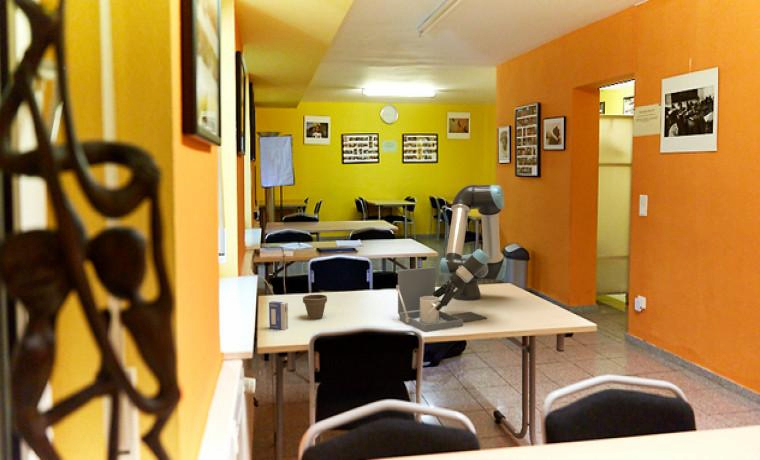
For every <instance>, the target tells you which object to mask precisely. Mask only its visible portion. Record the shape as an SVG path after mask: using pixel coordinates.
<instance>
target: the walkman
mask: <svg viewBox="0 0 760 460" xmlns="http://www.w3.org/2000/svg"><path fill="white" fill-rule="evenodd" d="M288 305H289V304H288V302H286V301H285V302H284V301H275V300H273V301H270V302H268V312H269V313H268V314H269V315H268V317H269V318H268V319H269V329H271V330H283V331H286V330H288V329H289V309H288V308H289V307H288Z"/></svg>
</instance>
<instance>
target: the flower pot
mask: <svg viewBox="0 0 760 460" xmlns="http://www.w3.org/2000/svg"><path fill="white" fill-rule="evenodd" d="M302 303H303V304H304V306H305V311H306V313H307V317H308V319H310V320H319V319H322V318H323V316H324V312H325V309H326V307H325V306H326V303H328V295H326V294H325V295H324V294H308V295H304V296H302Z"/></svg>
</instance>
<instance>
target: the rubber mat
mask: <svg viewBox="0 0 760 460" xmlns="http://www.w3.org/2000/svg"><path fill="white" fill-rule="evenodd" d="M450 315H452V316H455V317H458V318H460V319H463V324H464V323H469V322H470V321H471V322H475V321H476V320H477V321H481V320H483V319H484V320H488V317H487V316H483V315H481V314H478V313H475V312H472V311H466V312H460V313H452V314H450ZM484 320H483V321H484Z"/></svg>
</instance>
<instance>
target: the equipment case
mask: <svg viewBox="0 0 760 460" xmlns="http://www.w3.org/2000/svg"><path fill="white" fill-rule="evenodd" d="M395 288H396V289H395V290H396V291H397V314H398V316H399V317H398V318H399V319H398V320H399V321H401V322H403V323H405V324H407V325H409V326H411V327H414V328H416V329H418V330H420V331H422V332H423V333H424V332H425V333H427V332H434V331H435V332H436V331H440V330H446V329H447V330H448V329H454V328H459V327H464V323H463V319H460V318H458V317H455V316H452V315H451V314H449V313H447V312H445V311H442V310H439V319H442V320H445V321H442V322H437V323H433V324H424V323H422V322H421V321H420V320H417V319H420V298H421V297H424V296H433V292H435V291H436V267H435V266H433V267H432V266H431V267H420V268H410V269H409V268H408V269H399V270H397V284H396V285H395Z"/></svg>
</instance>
